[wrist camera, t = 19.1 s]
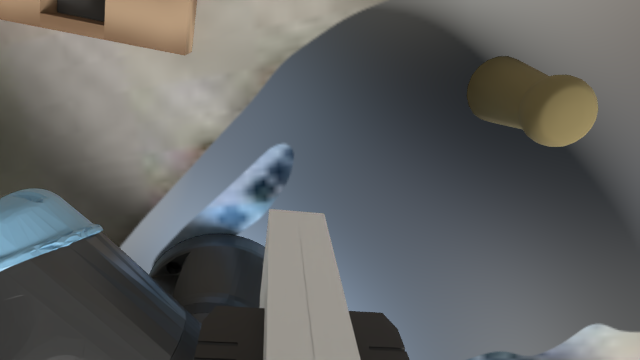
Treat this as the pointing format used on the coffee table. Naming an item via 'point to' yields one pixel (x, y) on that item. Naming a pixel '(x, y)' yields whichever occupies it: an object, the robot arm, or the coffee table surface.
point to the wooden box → (113, 20)
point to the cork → (532, 101)
